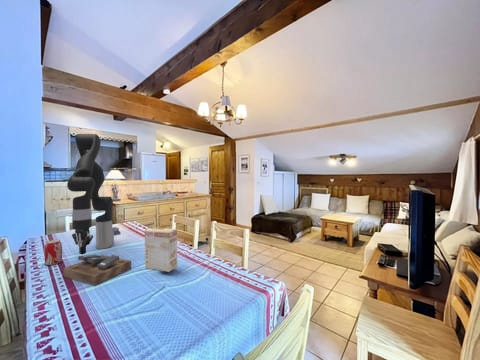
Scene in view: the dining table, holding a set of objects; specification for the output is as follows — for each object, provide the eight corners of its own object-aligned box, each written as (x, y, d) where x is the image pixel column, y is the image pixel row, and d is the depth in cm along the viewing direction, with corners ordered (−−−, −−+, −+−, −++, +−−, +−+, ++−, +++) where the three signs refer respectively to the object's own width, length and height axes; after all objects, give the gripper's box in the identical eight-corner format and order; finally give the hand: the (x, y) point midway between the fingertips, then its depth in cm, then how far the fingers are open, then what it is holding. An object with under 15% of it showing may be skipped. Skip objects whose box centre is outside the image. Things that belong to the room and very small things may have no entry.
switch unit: (102, 262, 114) (102, 253, 114) (131, 268, 106) (131, 258, 106) (63, 276, 98) (63, 266, 97) (94, 285, 89) (94, 274, 89)
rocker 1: (94, 258, 108) (95, 254, 109) (99, 259, 107) (100, 255, 107) (77, 259, 101) (78, 255, 102) (83, 260, 100) (84, 257, 100)
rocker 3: (113, 257, 103) (112, 254, 103) (119, 258, 102) (118, 255, 101) (97, 268, 96) (96, 265, 96) (104, 269, 95) (103, 266, 94)
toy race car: (94, 238, 160) (94, 229, 160) (116, 234, 171) (115, 226, 171) (98, 240, 154) (98, 231, 154) (120, 236, 165) (120, 228, 165)
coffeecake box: (178, 266, 108) (177, 228, 108) (169, 272, 101) (168, 232, 101) (154, 262, 113) (154, 226, 113) (144, 268, 106) (144, 229, 106)
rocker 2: (103, 260, 106) (104, 256, 106) (109, 261, 104) (109, 257, 104) (86, 261, 99) (87, 257, 99) (93, 263, 97) (93, 259, 97)
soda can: (51, 266, 109) (51, 243, 109) (41, 265, 110) (40, 242, 110) (65, 261, 116) (65, 239, 115) (55, 260, 117) (54, 238, 117)
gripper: (99, 217, 102) (99, 253, 102) (81, 216, 107) (82, 249, 107) (82, 220, 95) (82, 258, 95) (65, 218, 100) (65, 254, 100)
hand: (82, 253), depth 101 cm, fingers closed
